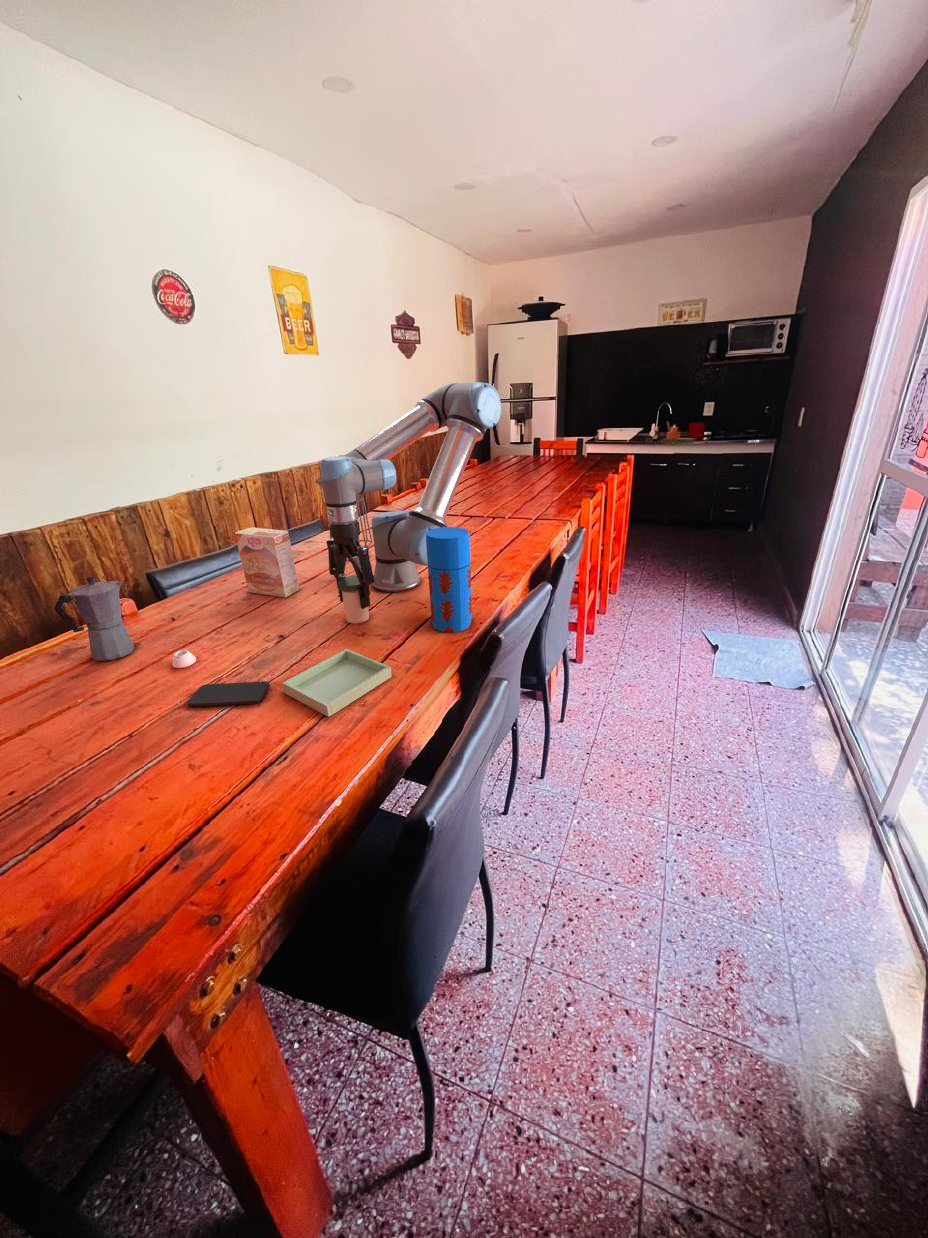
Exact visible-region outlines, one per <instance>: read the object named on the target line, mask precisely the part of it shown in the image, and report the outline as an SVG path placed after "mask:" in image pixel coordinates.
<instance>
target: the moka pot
mask: <svg viewBox="0 0 928 1238" xmlns="http://www.w3.org/2000/svg"><path fill="white" fill-rule="evenodd" d="M86 580H87V582H88V583H87V584H82V585H79V586H78V587H75V588H73V589H71V590H69V593H67V594H61V595H59V596H58V598H57V601H56V604H55V606H54V608H53V610H54V611H55V613H56V614H57V615H59V616H60V618H61V619H62V620H63V621H64V623H65V624H66V625H67V626H68V627H69V628H70V629H71V631H73V632H74V633H80V632H83V631H85V626H86V628H87V635H88V641H89V647H90V656H91V657H92V659H93V660H94V661H97V662H105V661H112V660H118V659H121V658H124V657H125V656H128V655H130V654H132V653H133V652H134V650H135V644H134V643H133V641H132V638H131V636H130V634H129V632H128V630H127V627H126V623H125V622H123V618H122V615H123V612H122V611H123V610H122V606H121V598H120V589H121V586H122V584H123V582H122V581H118V580H110V581H109V580H108V581H97V582H96V577H95V576H90V577H86ZM65 603H66V604H67V603H68V604H71V603H74V604H75V605H76V607H77V610H78V612H79V614H80V615H81V618H82V620H83V621H84V623H85V626H83V625H82V626H79V627H78V626H77V625H76V624H74V622H73V621H72V619H71V618H70V616H69V615H68V614H67V612H66V611H65V609H63V608H62V607H63V604H65Z"/></svg>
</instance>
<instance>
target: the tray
mask: <svg viewBox="0 0 928 1238" xmlns="http://www.w3.org/2000/svg"><path fill="white" fill-rule="evenodd" d="M392 677H393V676H392V667H391V666H390V665H387V664H385V663H383V662H381V661H378V660H375V659H373V658H370V657H368V656H366V655H363V654H361V653H358V652H356V651H354V650H351V649H349V648H345V649H344V650H341V651H339V652H337V653H336V654H334V655H331V656H330V657H328V658H326V659H324V660H322V661H320V662H319V663H316V664H314V665H313V666H311V667H310V668H307V669H305V670H303V671H301V672H300V673H298V674H296V675H294V676H292V677H290V678H288V679H287V680H285V681H283V682H281V684H282V685H281V686H282V688H283V693H284V694H285V695H286V696H287V695H288V696H289V697H291V698H292V699H294V700H296V701H298V702H300V703H301V704H303V705H306V706H307V707H310V708H311V709H313V710H315V711H317V712H318V713H320V714H322V715H324V716H326V717H327V718H328V717H329V718H330V717H331V716H333V715H334V714H335V713H337V712H339V711H341V710H342V709H344V708H345V707H347V706H349V705H350V704H351V703H353V702H354V701H356V700H357V699H358V700H359V698H361V697H362V696H364V695H366V694H367V693H368V692H370V691H372V690H374V688H377V687H378V686H380V685H382V683H384V682H386V681H388V680H389V679H391V678H392Z"/></svg>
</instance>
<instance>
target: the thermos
mask: <svg viewBox="0 0 928 1238" xmlns="http://www.w3.org/2000/svg"><path fill="white" fill-rule="evenodd" d="M426 547H427V562H428V566H427V575H428V591H429V603H430V605H429V606H430V615H431V623H432V627H433V628H434V629H435V630H437V631H439V632H443V633H457V632H463V631H465V630H467V629H469V628H470V627H471V625H472V620H473V619H472V618H473V617H472V615H473V609H472V608H473V607H472V606H473V603H472V602H473V600H472V599H473V598H472V569H471V568H472V566H471V564H472V563H471V537H470V532H469V529H467V528H464V527H461V526H447V527H440V528H435V529H432V530H429V531H428V532H427V533H426Z"/></svg>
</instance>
